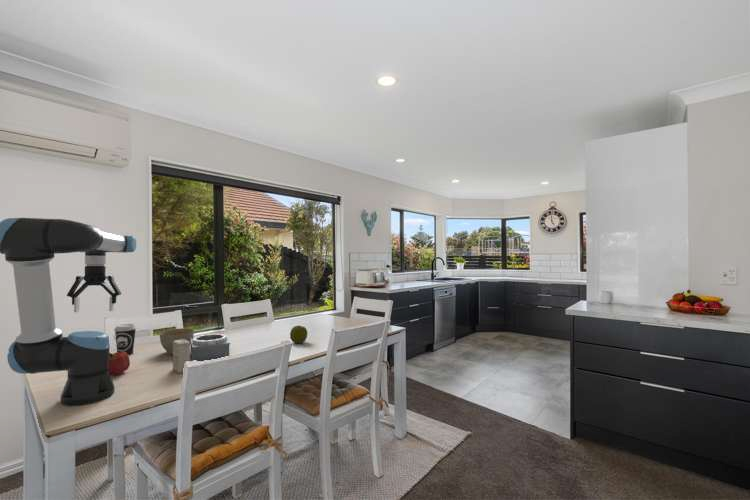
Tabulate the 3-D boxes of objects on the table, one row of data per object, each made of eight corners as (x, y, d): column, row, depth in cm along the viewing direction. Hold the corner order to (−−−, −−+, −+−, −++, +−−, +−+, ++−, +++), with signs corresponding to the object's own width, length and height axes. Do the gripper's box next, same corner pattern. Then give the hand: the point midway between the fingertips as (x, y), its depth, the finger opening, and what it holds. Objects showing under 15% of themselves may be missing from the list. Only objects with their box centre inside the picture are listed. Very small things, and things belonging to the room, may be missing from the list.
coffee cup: (139, 353, 180) (140, 324, 180) (118, 358, 172) (119, 328, 172) (131, 350, 185) (131, 322, 185) (110, 355, 177) (110, 325, 177)
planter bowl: (185, 346, 195) (185, 326, 195) (199, 351, 185) (200, 330, 186) (153, 352, 182) (153, 332, 182) (167, 358, 172) (167, 336, 173)
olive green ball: (287, 344, 200) (287, 325, 200) (293, 340, 209) (294, 322, 209) (303, 345, 198) (303, 326, 198) (309, 341, 208) (309, 323, 208)
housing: (229, 359, 172) (230, 338, 172) (192, 364, 163) (192, 343, 163) (224, 349, 189) (224, 330, 190) (189, 353, 181) (189, 334, 181)
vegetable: (101, 380, 142) (101, 356, 142) (96, 374, 149) (96, 351, 149) (132, 373, 150) (132, 350, 151) (126, 368, 157) (127, 346, 158)
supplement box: (190, 371, 154) (190, 341, 154) (178, 373, 150) (178, 343, 151) (183, 367, 160) (184, 338, 160) (172, 369, 156) (172, 340, 156)
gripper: (129, 265, 167) (128, 309, 167) (67, 265, 160) (66, 311, 160) (123, 265, 160) (122, 311, 160) (57, 265, 153) (56, 313, 153)
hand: (94, 311), depth 160 cm, fingers open, 13 cm apart
